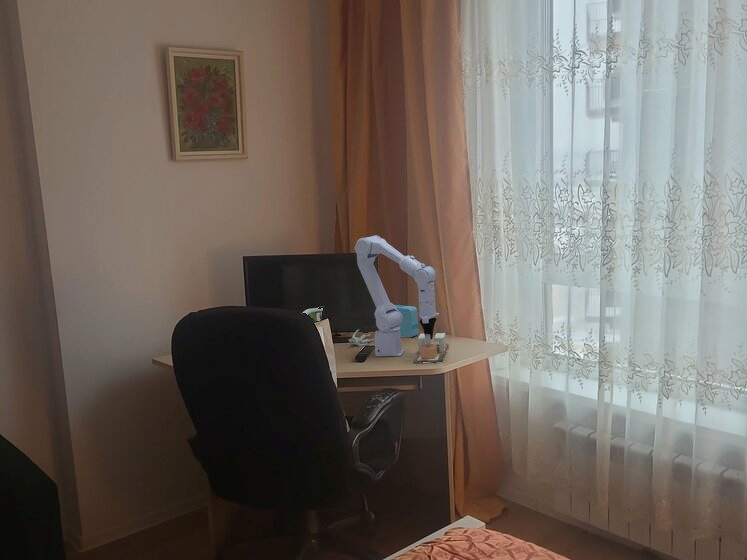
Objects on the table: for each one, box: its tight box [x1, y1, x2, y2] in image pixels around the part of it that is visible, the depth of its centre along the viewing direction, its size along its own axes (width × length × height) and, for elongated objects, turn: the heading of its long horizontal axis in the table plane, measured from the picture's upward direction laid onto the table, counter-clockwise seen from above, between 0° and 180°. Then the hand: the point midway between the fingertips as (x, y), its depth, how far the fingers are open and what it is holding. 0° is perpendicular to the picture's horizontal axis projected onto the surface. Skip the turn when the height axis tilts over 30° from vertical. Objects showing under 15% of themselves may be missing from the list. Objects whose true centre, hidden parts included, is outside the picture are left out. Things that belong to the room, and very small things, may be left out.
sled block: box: [420, 334, 438, 359], centre depth 267 cm, size 5×6×8 cm
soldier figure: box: [347, 329, 375, 347], centre depth 298 cm, size 8×5×12 cm
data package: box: [394, 304, 420, 338], centre depth 307 cm, size 12×4×12 cm, turn 48°
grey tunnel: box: [417, 332, 447, 353], centre depth 277 cm, size 9×8×5 cm
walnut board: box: [412, 343, 449, 364], centre depth 274 cm, size 10×24×1 cm, turn 169°
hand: (429, 339), depth 269 cm, fingers closed
